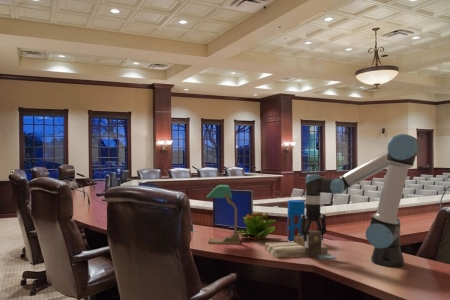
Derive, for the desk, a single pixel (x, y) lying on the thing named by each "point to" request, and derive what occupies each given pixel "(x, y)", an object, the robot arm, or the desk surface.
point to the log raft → (289, 249)
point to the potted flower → (256, 226)
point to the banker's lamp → (225, 192)
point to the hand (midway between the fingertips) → (313, 246)
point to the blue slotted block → (295, 217)
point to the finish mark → (325, 256)
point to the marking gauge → (310, 242)
